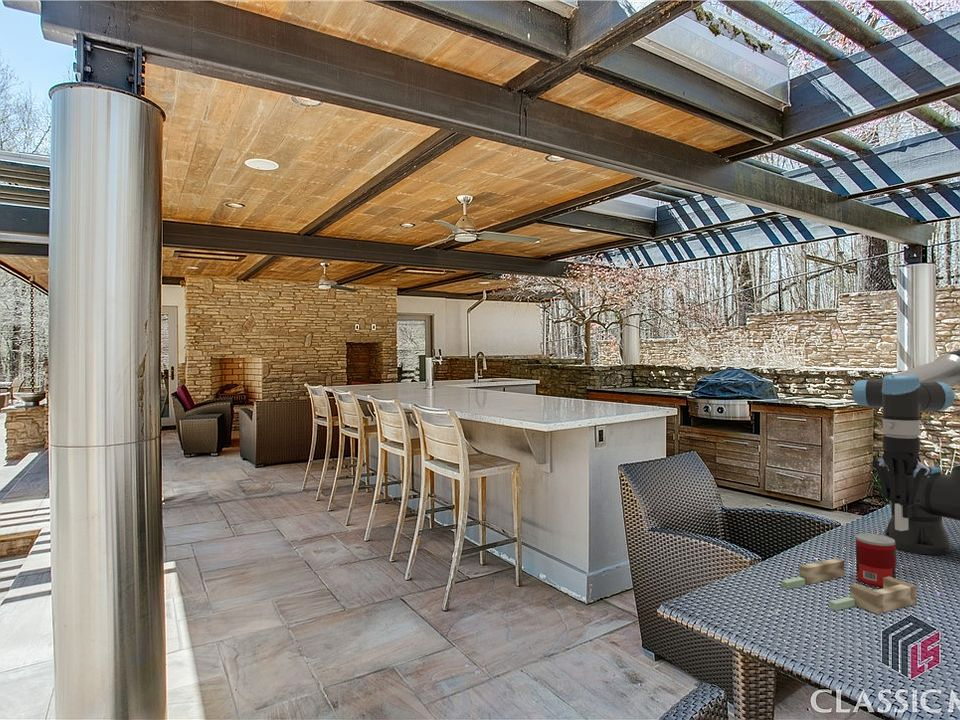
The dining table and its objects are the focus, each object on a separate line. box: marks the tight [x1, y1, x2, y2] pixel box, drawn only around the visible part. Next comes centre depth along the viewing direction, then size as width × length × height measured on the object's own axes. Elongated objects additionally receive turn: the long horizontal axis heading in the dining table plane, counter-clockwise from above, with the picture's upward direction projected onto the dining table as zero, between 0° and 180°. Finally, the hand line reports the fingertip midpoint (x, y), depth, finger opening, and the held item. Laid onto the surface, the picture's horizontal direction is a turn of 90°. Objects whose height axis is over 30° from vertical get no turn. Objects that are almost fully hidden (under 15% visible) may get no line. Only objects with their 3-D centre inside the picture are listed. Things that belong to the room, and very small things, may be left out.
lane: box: [798, 557, 918, 615], centre depth 133 cm, size 13×19×4 cm
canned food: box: [855, 532, 897, 589], centre depth 138 cm, size 8×8×11 cm
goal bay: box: [781, 576, 856, 612], centre depth 131 cm, size 6×14×2 cm, turn 20°
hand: (901, 529), depth 141 cm, fingers closed
